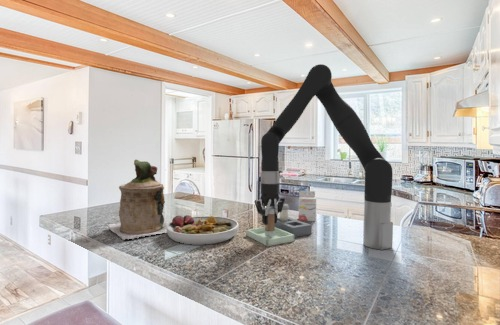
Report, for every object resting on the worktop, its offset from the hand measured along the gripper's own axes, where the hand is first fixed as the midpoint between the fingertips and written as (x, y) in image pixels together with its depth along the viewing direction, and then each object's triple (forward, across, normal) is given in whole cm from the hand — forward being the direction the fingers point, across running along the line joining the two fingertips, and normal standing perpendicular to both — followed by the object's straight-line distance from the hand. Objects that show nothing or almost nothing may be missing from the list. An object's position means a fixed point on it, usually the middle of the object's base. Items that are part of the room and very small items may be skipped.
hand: (269, 223), depth 122 cm
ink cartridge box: (+6, +34, +16) cm, 38 cm away
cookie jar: (+6, -43, +39) cm, 58 cm away
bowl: (+7, -22, +18) cm, 29 cm away
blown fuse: (+5, 0, 0) cm, 5 cm away
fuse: (+6, +14, +9) cm, 18 cm away
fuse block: (+6, +14, +5) cm, 16 cm away
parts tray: (+6, 0, 0) cm, 6 cm away
